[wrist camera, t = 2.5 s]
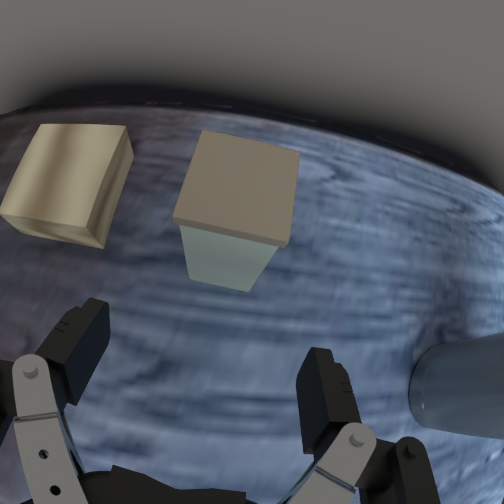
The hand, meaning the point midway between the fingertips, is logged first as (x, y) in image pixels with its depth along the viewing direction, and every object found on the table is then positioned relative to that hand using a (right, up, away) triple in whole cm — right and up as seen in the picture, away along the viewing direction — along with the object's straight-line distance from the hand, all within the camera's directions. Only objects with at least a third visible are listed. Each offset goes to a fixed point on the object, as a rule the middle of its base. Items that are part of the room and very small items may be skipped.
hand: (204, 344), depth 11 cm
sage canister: (-1, +3, +15) cm, 15 cm away
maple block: (-16, +9, +15) cm, 23 cm away
